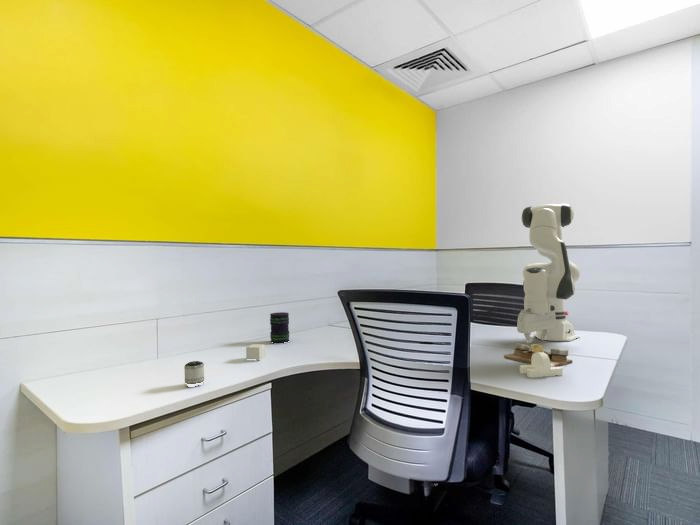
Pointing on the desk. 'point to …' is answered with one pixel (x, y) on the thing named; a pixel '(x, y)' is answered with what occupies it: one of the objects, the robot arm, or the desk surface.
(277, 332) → the storage jar
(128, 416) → the desk surface
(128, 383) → the desk surface
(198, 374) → the camera lens
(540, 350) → the coupler
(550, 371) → the slotted bracket
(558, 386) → the desk surface
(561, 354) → the angled shaft stand
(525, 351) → the bench
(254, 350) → the cream cube
